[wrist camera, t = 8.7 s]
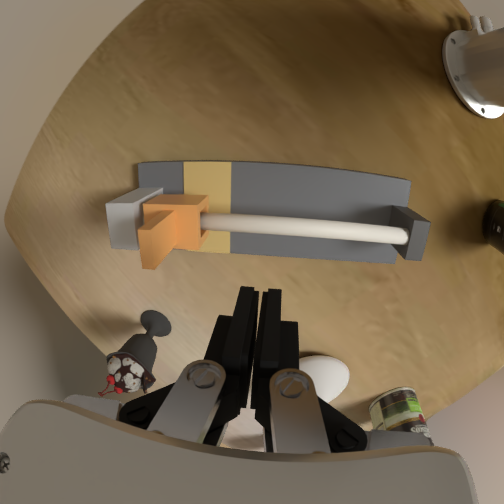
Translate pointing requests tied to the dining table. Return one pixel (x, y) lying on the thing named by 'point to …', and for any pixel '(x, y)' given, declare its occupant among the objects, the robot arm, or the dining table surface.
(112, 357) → the sundae
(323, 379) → the flower in vase
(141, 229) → the orange l-shaped block
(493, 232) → the supplement bottle
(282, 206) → the grey slider rail toy
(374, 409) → the coffee can
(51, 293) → the dining table surface
